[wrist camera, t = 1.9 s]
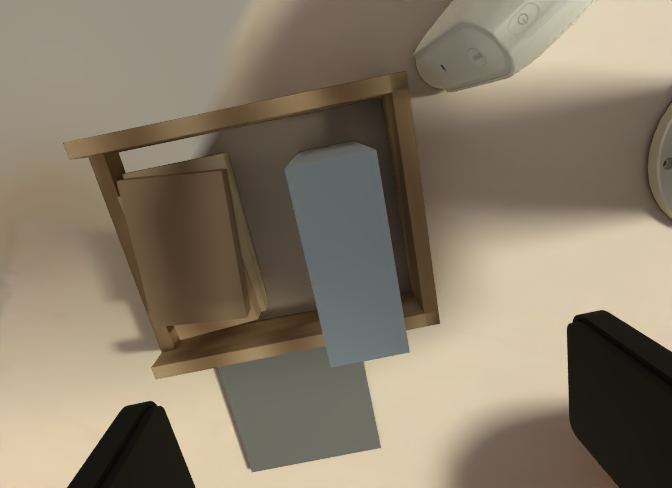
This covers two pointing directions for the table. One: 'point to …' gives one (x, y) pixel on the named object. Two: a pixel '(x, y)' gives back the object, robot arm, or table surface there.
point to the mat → (299, 408)
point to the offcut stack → (193, 245)
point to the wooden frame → (299, 327)
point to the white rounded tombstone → (491, 39)
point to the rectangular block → (348, 251)
